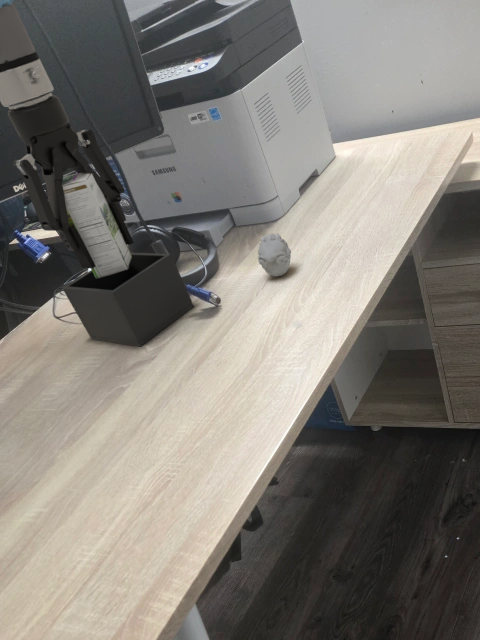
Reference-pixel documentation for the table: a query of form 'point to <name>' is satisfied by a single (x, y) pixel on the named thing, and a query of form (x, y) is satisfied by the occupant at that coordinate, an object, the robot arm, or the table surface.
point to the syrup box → (95, 224)
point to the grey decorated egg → (274, 255)
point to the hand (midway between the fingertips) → (108, 254)
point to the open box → (131, 300)
